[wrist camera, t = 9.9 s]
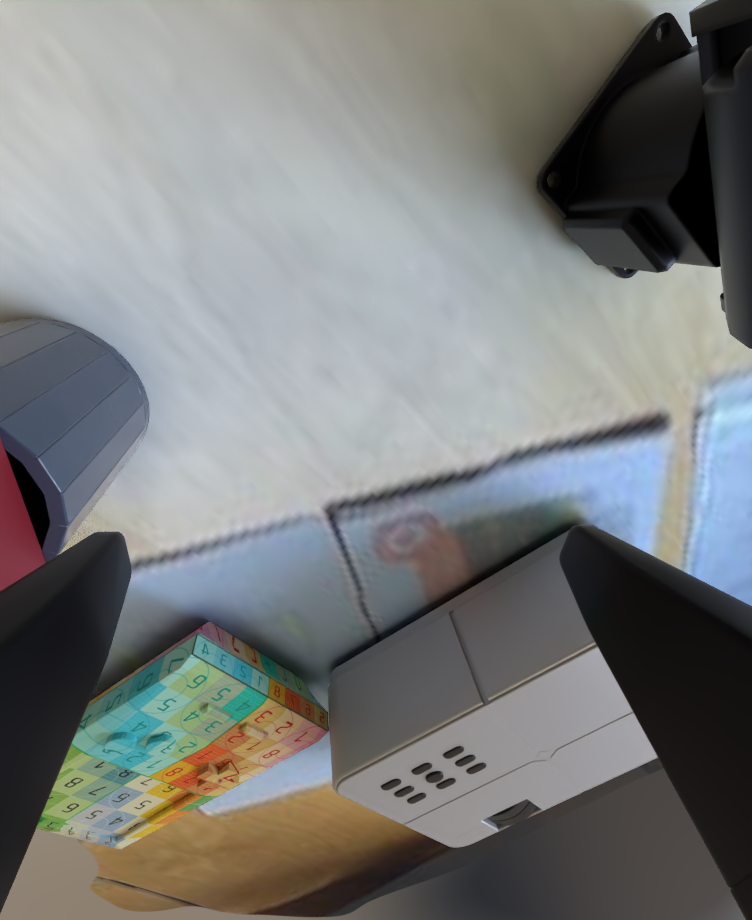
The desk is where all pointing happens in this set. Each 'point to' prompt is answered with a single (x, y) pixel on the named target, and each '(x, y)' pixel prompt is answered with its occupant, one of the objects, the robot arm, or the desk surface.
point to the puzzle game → (179, 738)
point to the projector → (482, 709)
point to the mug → (65, 421)
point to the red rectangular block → (15, 530)
